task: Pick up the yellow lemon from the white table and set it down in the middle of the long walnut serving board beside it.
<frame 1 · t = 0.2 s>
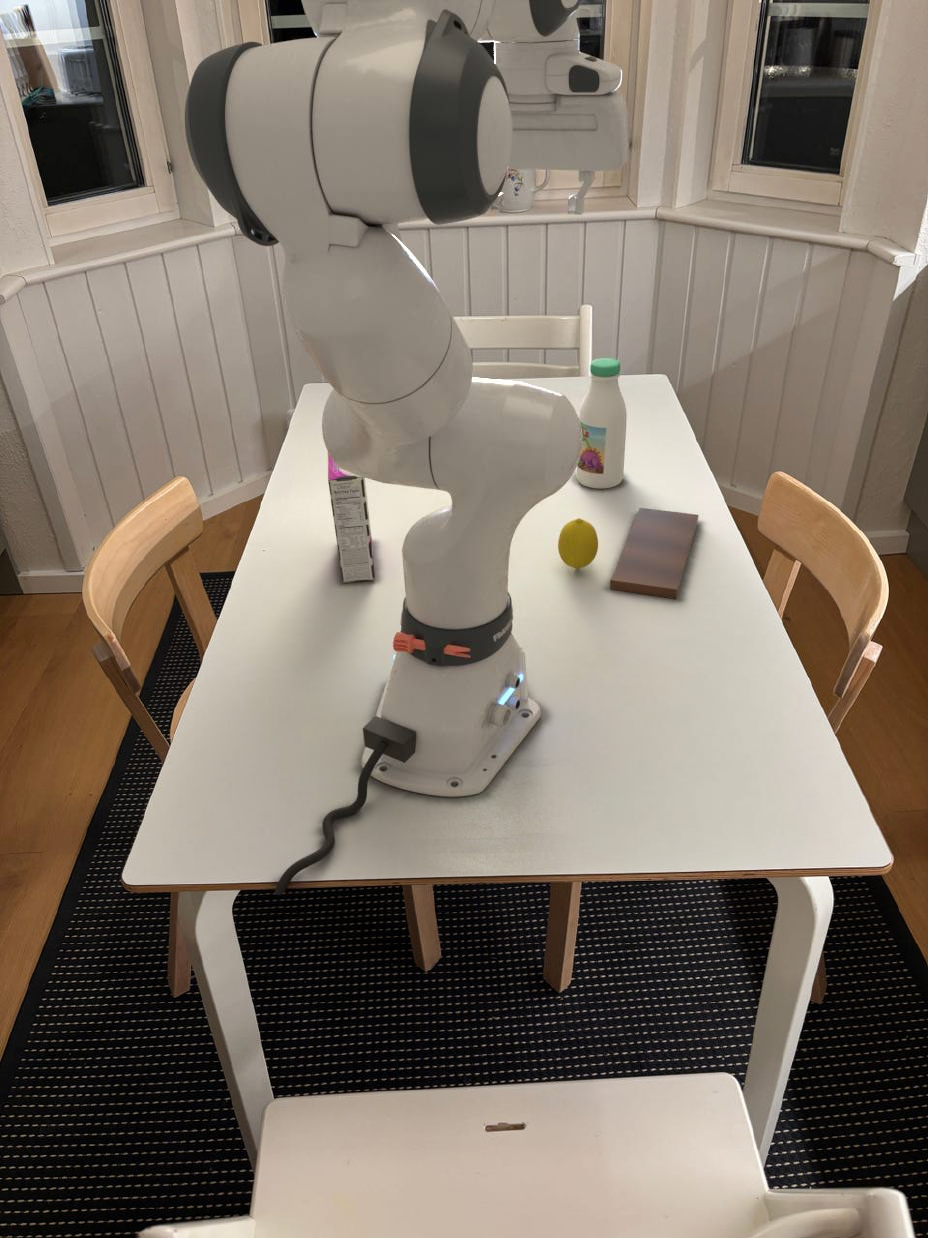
hand: (535, 212, 108), 48 cm above the table, tool pointing down, fingers open, 8 cm apart
lemon: (577, 570, 135), on the table
serving board: (656, 554, 137), on the table
candy bar box: (357, 564, 138), on the table
milk bottle: (599, 480, 158), on the table
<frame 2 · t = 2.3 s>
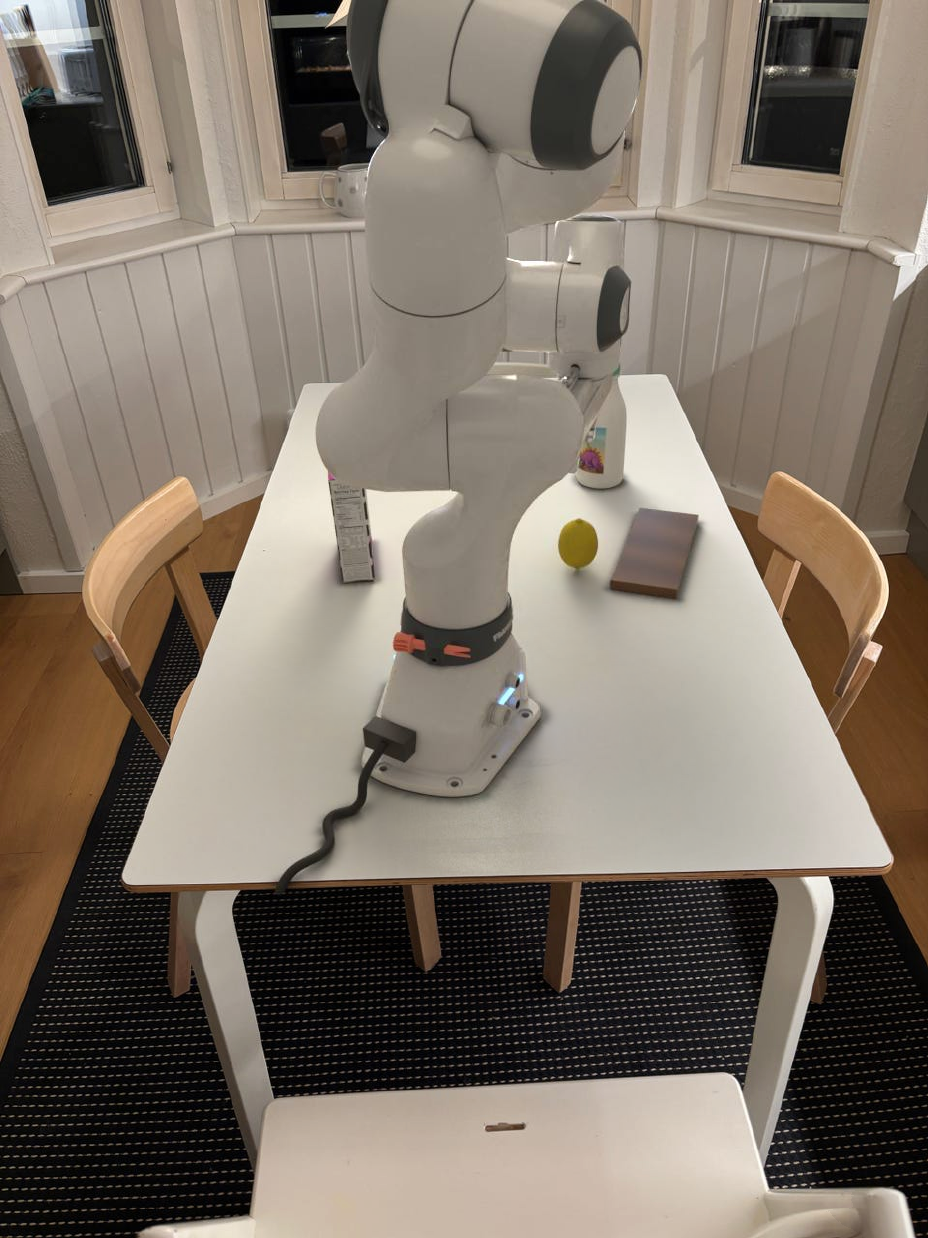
hand: (579, 455, 125), 17 cm above the table, tool pointing down, fingers open, 8 cm apart
nothing on the table moved.
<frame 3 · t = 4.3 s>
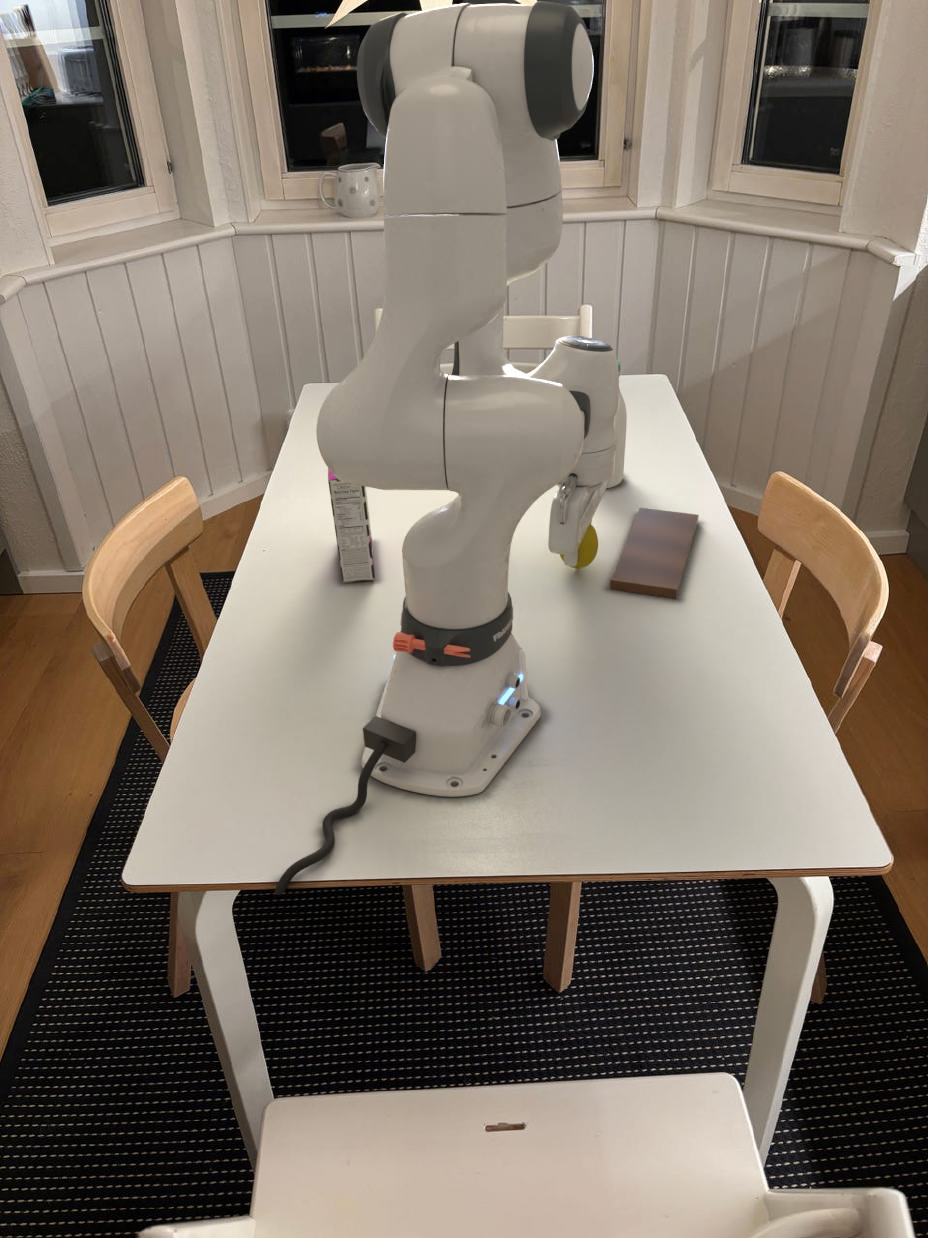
hand: (577, 550, 133), 3 cm above the table, tool pointing down, fingers closed on lemon, 5 cm apart
lemon: (577, 570, 135), on the table, touching gripper
everything else where it was.
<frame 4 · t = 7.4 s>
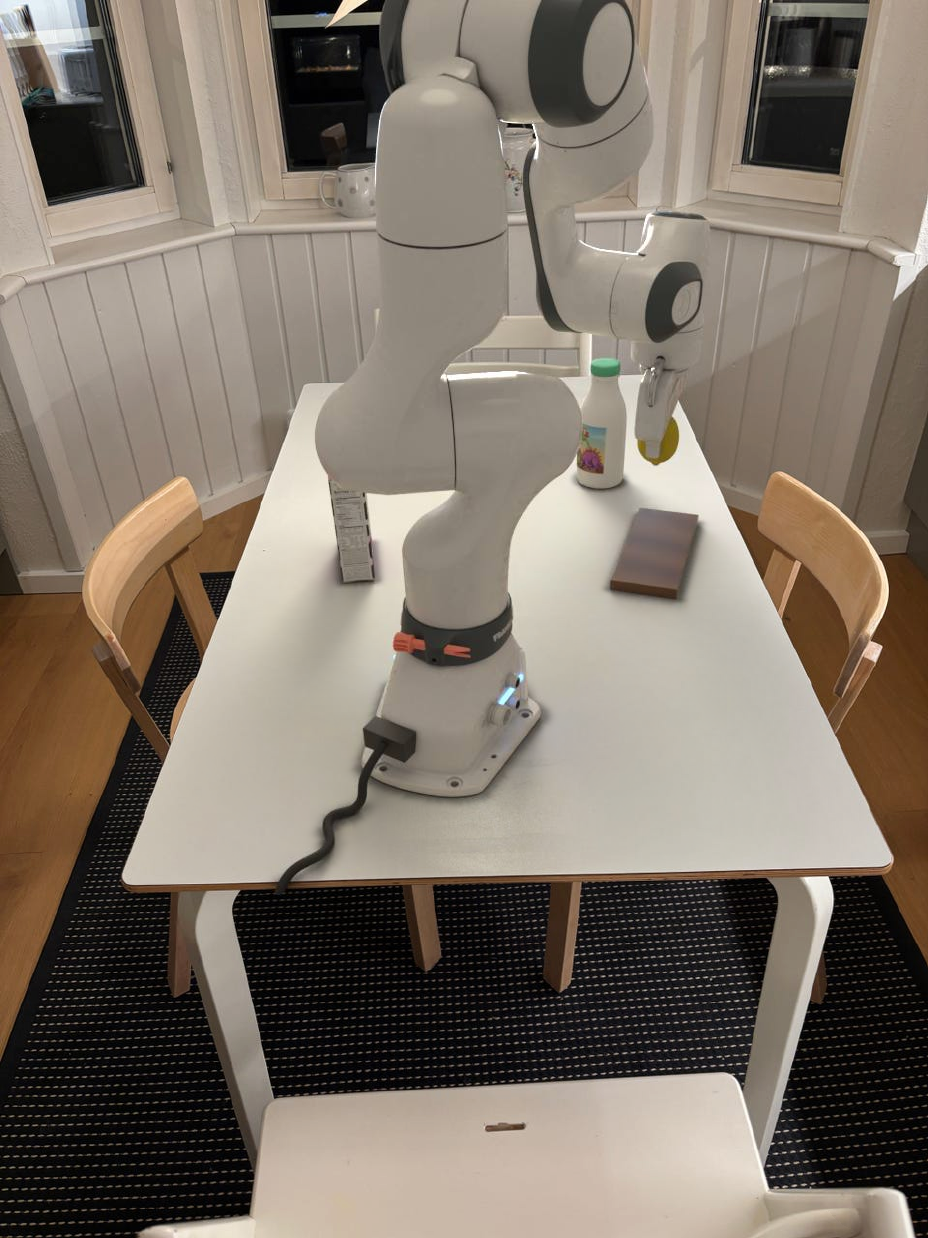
hand: (657, 445, 129), 16 cm above the table, tool pointing down, fingers closed on lemon, 5 cm apart
lemon: (655, 466, 131), point 13 cm above the table, touching gripper
everything else where it was.
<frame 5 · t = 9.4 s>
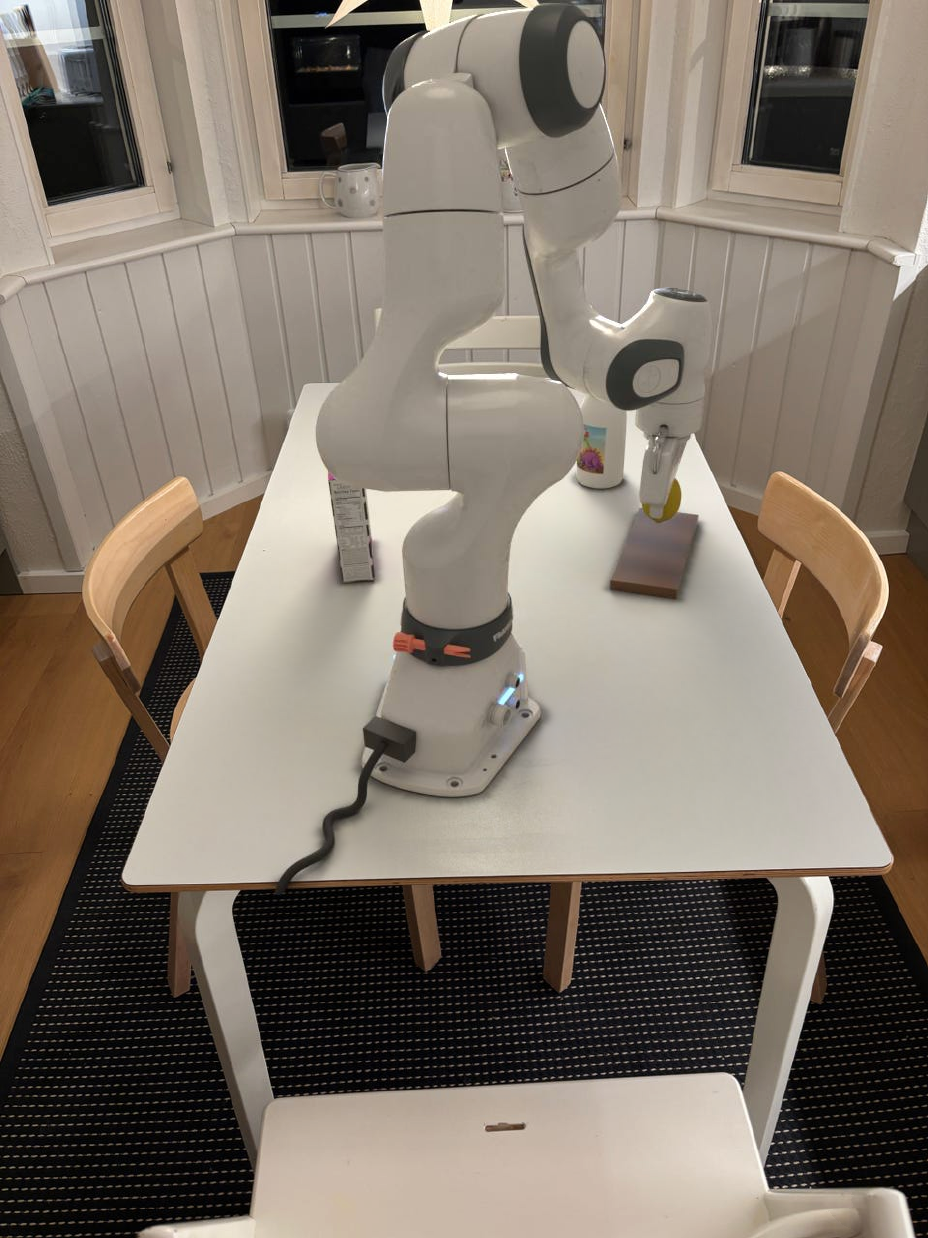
hand: (660, 504, 135), 7 cm above the table, tool pointing down, fingers closed on lemon, 5 cm apart
lemon: (658, 524, 137), point 4 cm above the table, touching gripper
everything else where it was.
when the fingers open (4 cm above the table, at t = 10.6 s): lemon stays where it is, resting on serving board.
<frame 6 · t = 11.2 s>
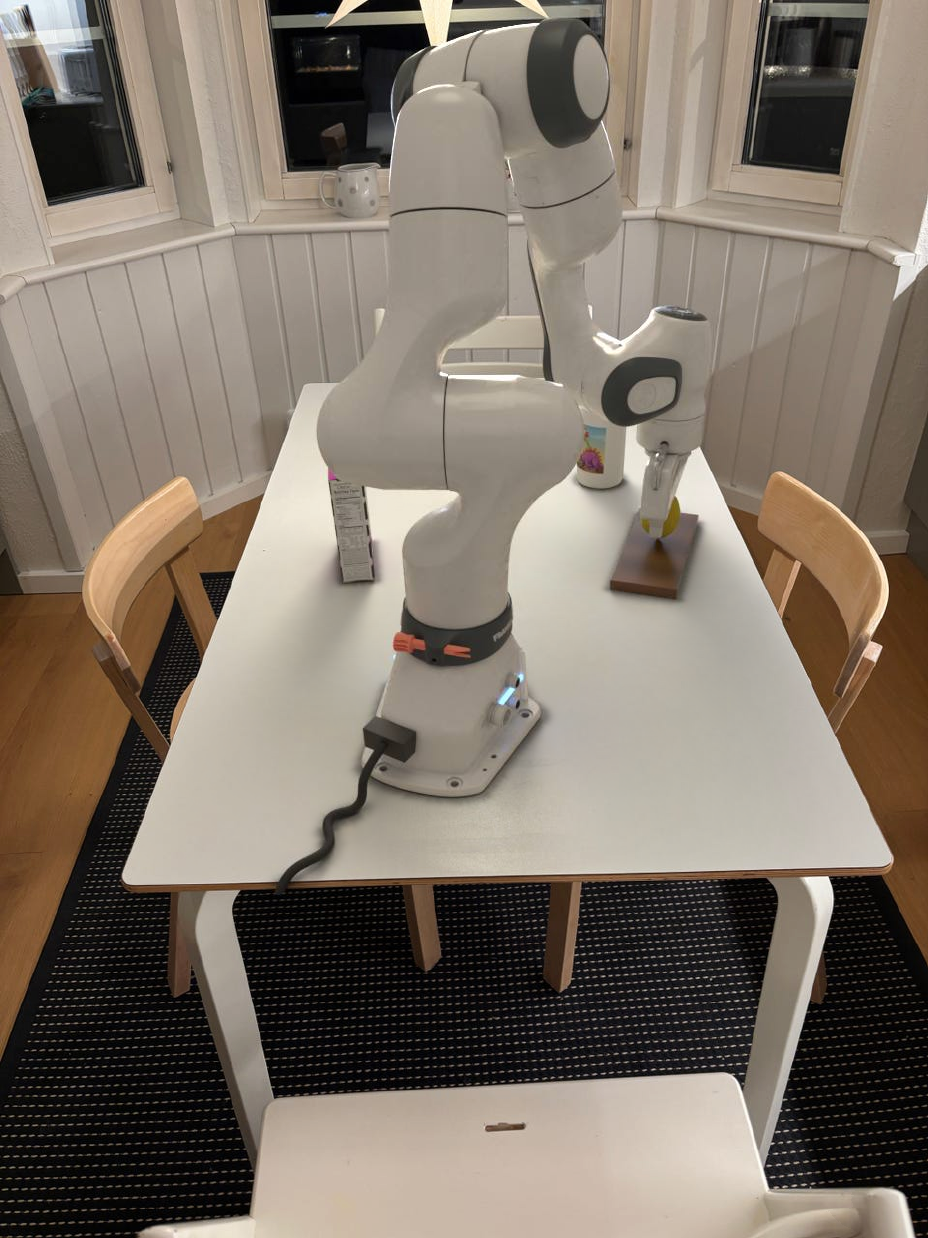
hand: (661, 519, 136), 5 cm above the table, tool pointing down, fingers open, 8 cm apart
lemon: (657, 539, 138), point 1 cm above the table, touching serving board
everything else where it was.
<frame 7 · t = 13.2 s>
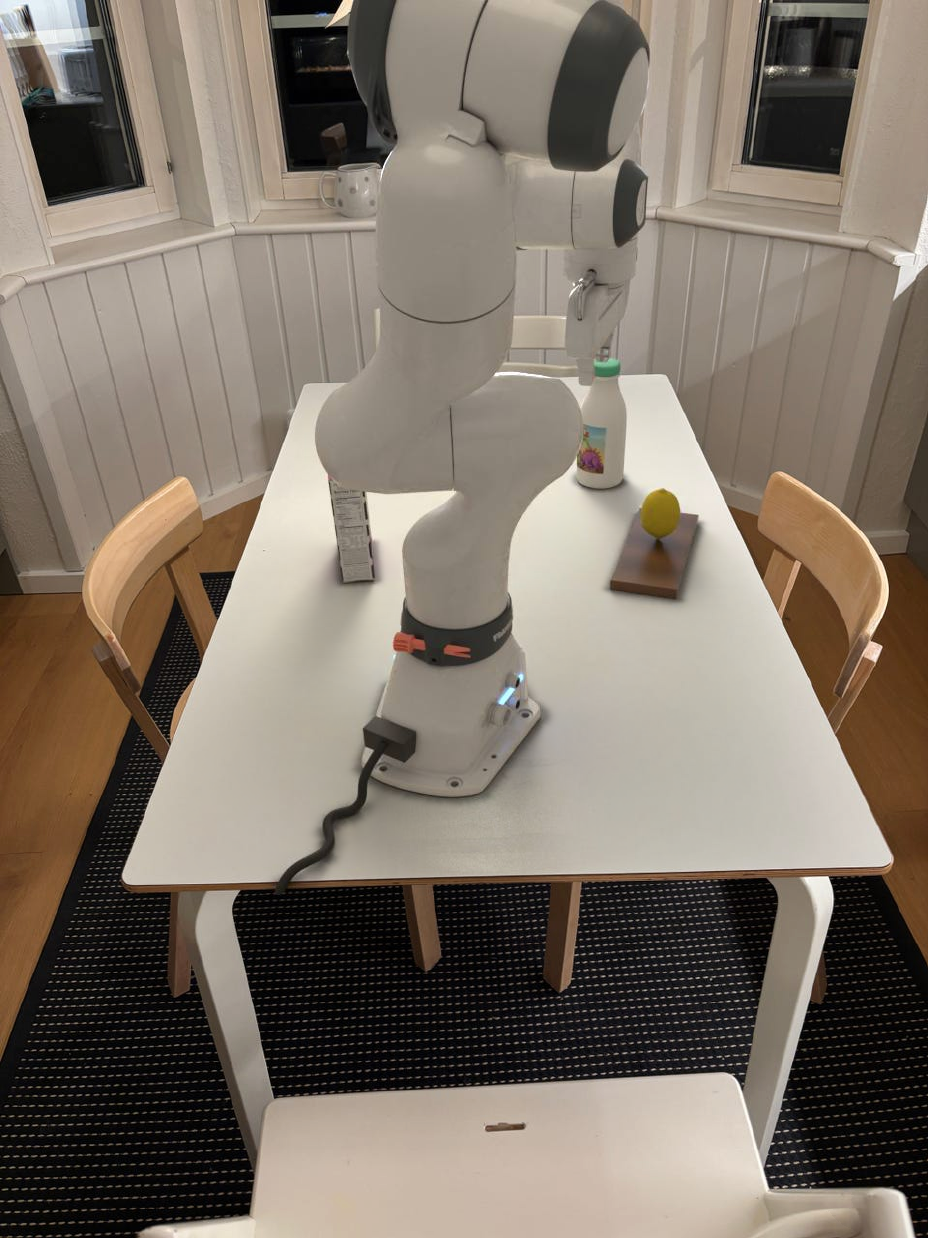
hand: (594, 371, 124), 27 cm above the table, tool pointing down, fingers open, 8 cm apart
nothing on the table moved.
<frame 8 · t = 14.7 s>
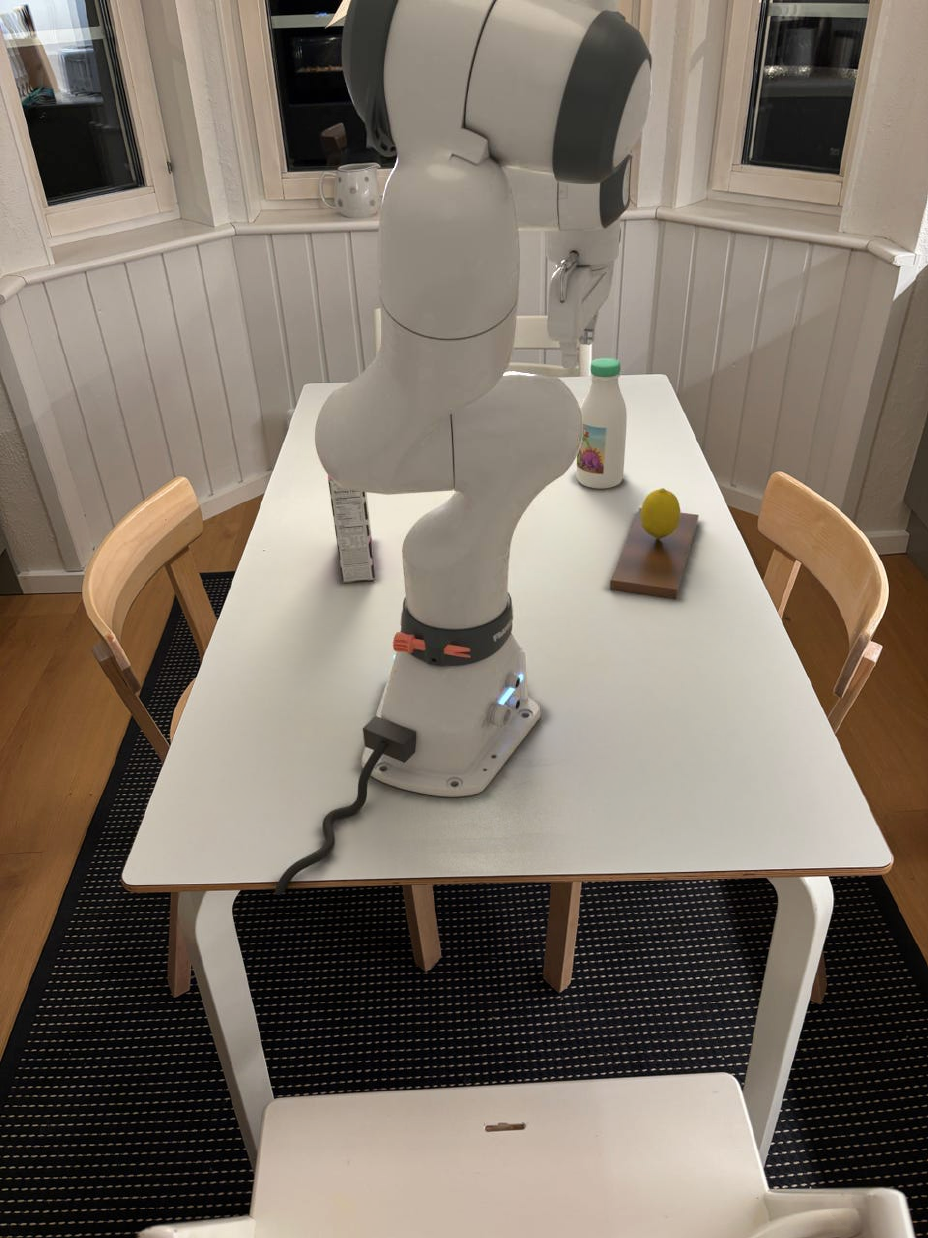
hand: (578, 354, 123), 29 cm above the table, tool pointing down, fingers open, 8 cm apart
nothing on the table moved.
at the end: lemon inside the target area on the serving board (2.0 cm from its centre), point 1.3 cm above the serving board's base; lemon touching serving board; the gripper is holding nothing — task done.
